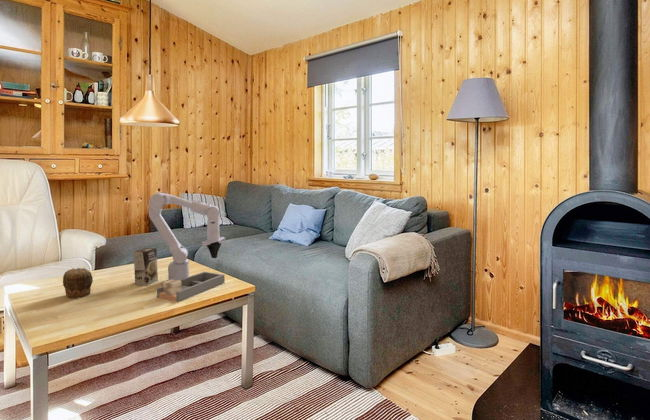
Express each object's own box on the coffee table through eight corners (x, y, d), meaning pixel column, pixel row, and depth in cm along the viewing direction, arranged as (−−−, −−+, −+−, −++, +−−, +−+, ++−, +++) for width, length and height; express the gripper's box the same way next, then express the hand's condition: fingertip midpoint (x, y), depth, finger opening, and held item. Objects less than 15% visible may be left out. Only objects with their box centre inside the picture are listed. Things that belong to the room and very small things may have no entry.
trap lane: (157, 297, 173) (156, 288, 173) (204, 279, 199) (204, 271, 199) (178, 301, 168) (178, 292, 167) (224, 282, 194) (224, 274, 194)
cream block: (163, 293, 172) (163, 282, 171) (172, 290, 176) (172, 279, 175) (172, 295, 169) (172, 284, 169) (181, 292, 174) (181, 280, 173)
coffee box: (146, 286, 188) (145, 252, 186) (134, 285, 190) (132, 251, 188) (158, 280, 197) (157, 247, 195) (146, 279, 199) (145, 247, 197)
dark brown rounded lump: (62, 301, 167) (60, 273, 166) (65, 293, 177) (63, 266, 176) (93, 297, 172) (91, 270, 171) (94, 290, 182) (92, 264, 181)
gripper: (209, 233, 190) (210, 261, 192) (229, 228, 203) (230, 255, 205) (198, 232, 193) (199, 260, 195) (218, 227, 206) (218, 254, 208)
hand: (214, 257), depth 200 cm, fingers closed
